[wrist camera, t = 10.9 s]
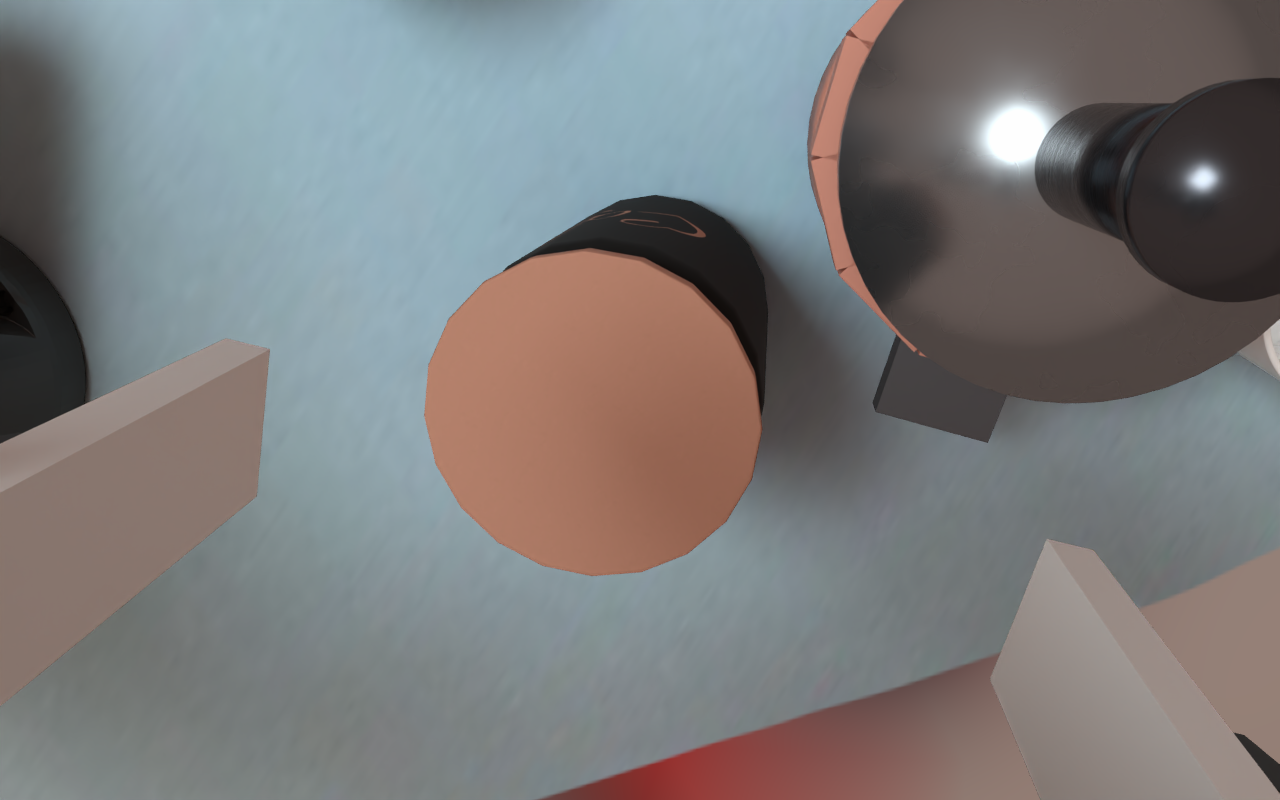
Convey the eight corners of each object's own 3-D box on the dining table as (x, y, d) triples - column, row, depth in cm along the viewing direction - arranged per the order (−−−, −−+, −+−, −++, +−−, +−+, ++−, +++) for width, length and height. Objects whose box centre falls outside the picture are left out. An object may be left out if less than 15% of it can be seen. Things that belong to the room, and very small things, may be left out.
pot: (1054, 403, 45) (1148, 506, 33) (749, 320, 45) (740, 393, 34) (1255, -79, 38) (1461, -156, 26) (891, -166, 38) (939, -278, 27)
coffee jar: (732, 162, 43) (703, 202, 26) (794, 375, 46) (804, 536, 29) (521, 231, 46) (370, 308, 29) (592, 430, 48) (491, 608, 31)
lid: (779, 315, 35) (781, 431, 22) (920, -152, 29) (1019, -327, 17) (1199, 429, 34) (1434, 612, 22) (1418, -32, 29) (1887, -129, 17)
